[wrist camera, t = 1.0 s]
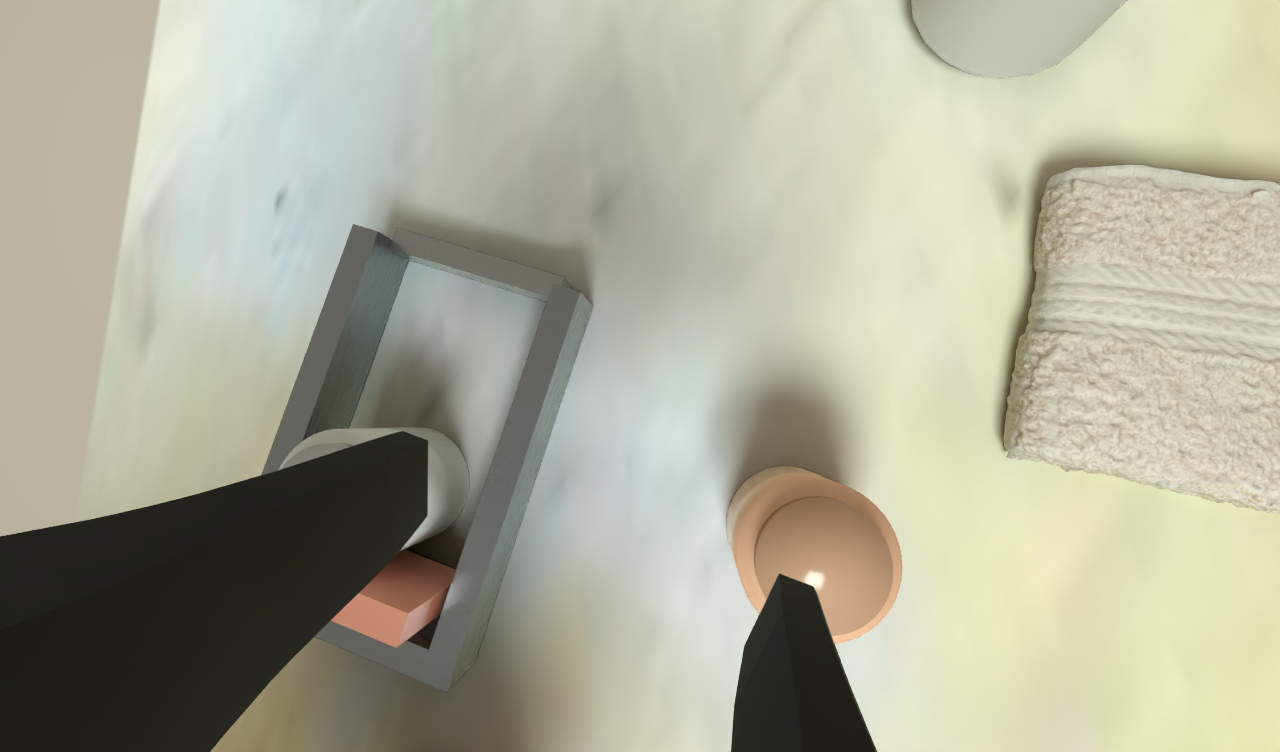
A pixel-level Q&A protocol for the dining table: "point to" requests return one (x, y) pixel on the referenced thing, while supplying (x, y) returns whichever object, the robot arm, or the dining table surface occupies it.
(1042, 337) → the washcloth
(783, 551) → the terracotta jar
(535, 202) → the dining table surface
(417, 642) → the grey tray
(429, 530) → the grey jar
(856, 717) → the robot arm
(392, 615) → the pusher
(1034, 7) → the can
